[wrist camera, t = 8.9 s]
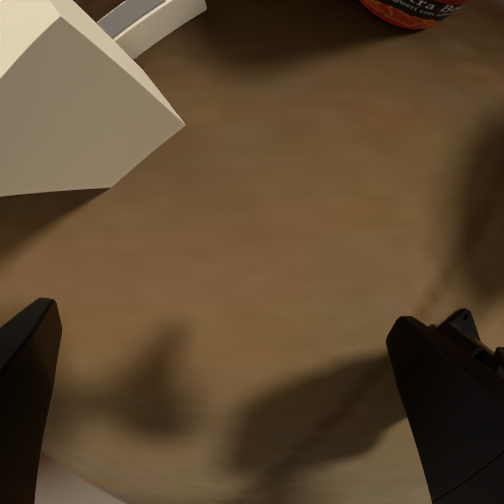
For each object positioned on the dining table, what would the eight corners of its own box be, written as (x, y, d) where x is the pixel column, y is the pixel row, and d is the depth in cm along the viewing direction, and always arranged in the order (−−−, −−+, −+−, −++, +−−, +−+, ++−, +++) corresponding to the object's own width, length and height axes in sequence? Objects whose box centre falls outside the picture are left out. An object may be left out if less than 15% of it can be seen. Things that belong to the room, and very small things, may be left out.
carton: (185, 125, 17) (56, 13, 4) (111, 187, 17) (-83, 208, 4) (141, 68, 16) (7, -59, 3) (72, 130, 16) (-107, 93, 4)
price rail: (206, 9, 15) (200, -18, 12) (1, 195, 17) (-30, 199, 14) (189, -9, 15) (180, -36, 12) (-10, 174, 17) (-40, 176, 14)
